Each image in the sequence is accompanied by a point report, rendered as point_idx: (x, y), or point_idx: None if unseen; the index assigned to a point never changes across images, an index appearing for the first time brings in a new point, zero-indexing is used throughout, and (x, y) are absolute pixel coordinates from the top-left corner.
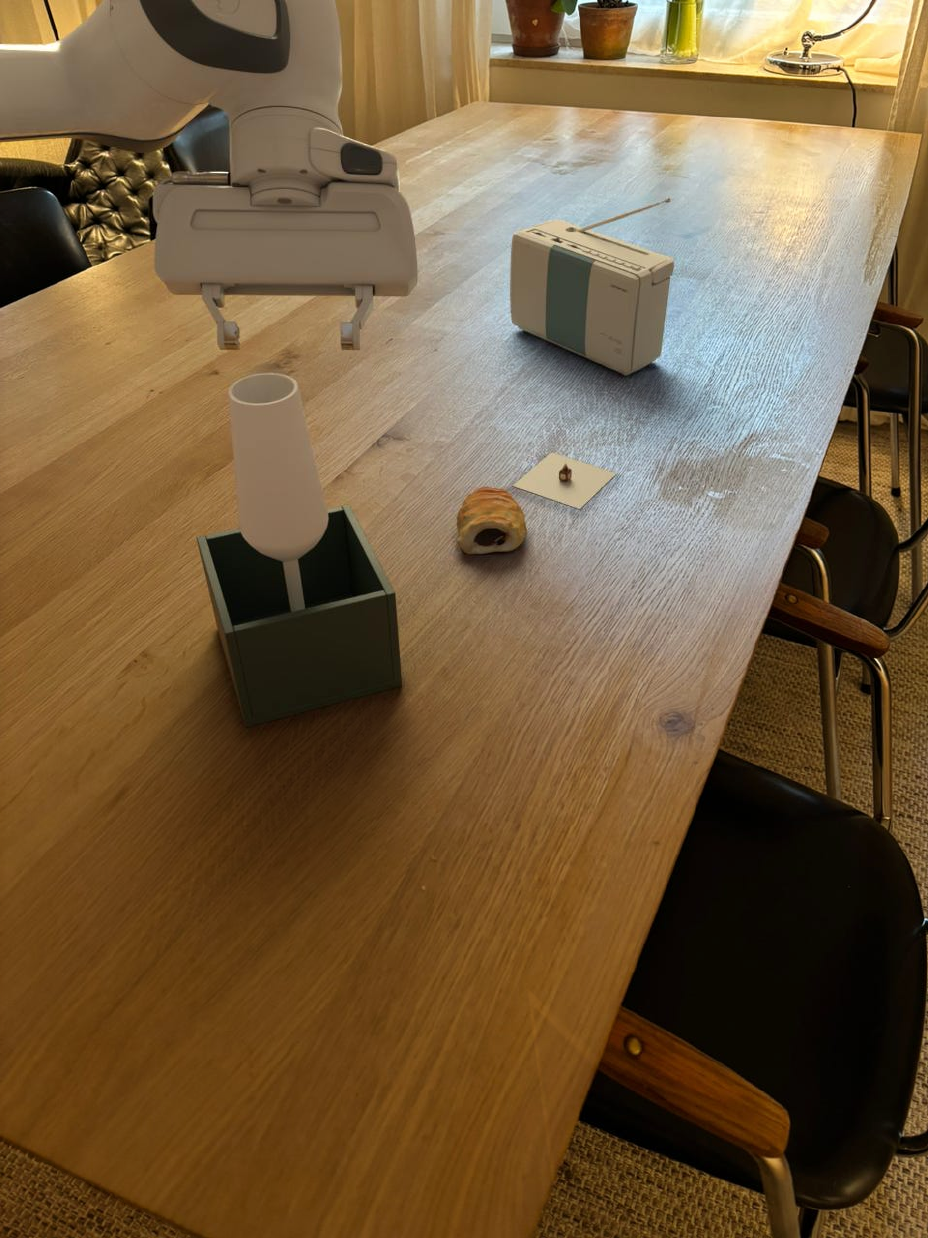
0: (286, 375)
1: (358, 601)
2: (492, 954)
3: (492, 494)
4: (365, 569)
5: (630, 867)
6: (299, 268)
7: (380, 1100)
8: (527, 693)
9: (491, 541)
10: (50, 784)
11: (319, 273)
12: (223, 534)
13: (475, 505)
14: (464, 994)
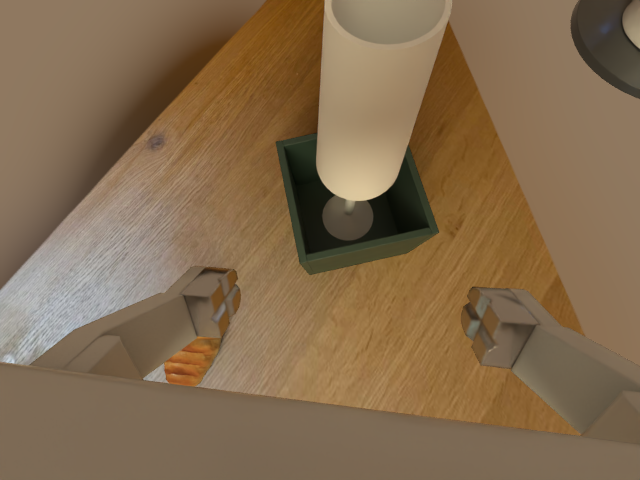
0: (345, 38)
1: (303, 136)
2: (275, 47)
3: (178, 360)
4: (296, 203)
5: (211, 74)
6: (264, 456)
7: (322, 9)
8: (223, 171)
9: None
10: (479, 141)
11: (173, 410)
12: (415, 232)
13: (197, 340)
14: (288, 35)
